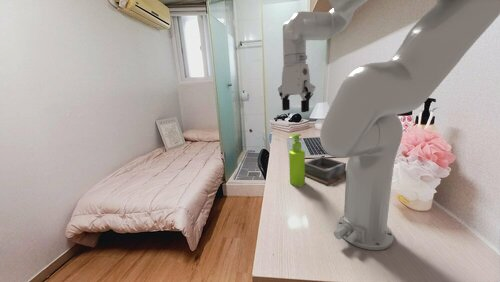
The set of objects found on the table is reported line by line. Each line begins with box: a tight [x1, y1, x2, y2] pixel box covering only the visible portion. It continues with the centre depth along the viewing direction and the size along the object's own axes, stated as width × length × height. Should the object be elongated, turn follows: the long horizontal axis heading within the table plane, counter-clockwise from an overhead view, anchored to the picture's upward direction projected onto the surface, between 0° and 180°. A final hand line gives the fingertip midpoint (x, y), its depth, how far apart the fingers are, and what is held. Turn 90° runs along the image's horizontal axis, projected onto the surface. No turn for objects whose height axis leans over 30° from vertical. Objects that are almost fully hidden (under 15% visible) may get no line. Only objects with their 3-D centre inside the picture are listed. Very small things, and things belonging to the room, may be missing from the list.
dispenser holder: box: [305, 155, 347, 186], centre depth 88 cm, size 16×16×5 cm
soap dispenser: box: [288, 133, 306, 187], centre depth 80 cm, size 6×7×20 cm
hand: (295, 110), depth 75 cm, fingers open, 9 cm apart
